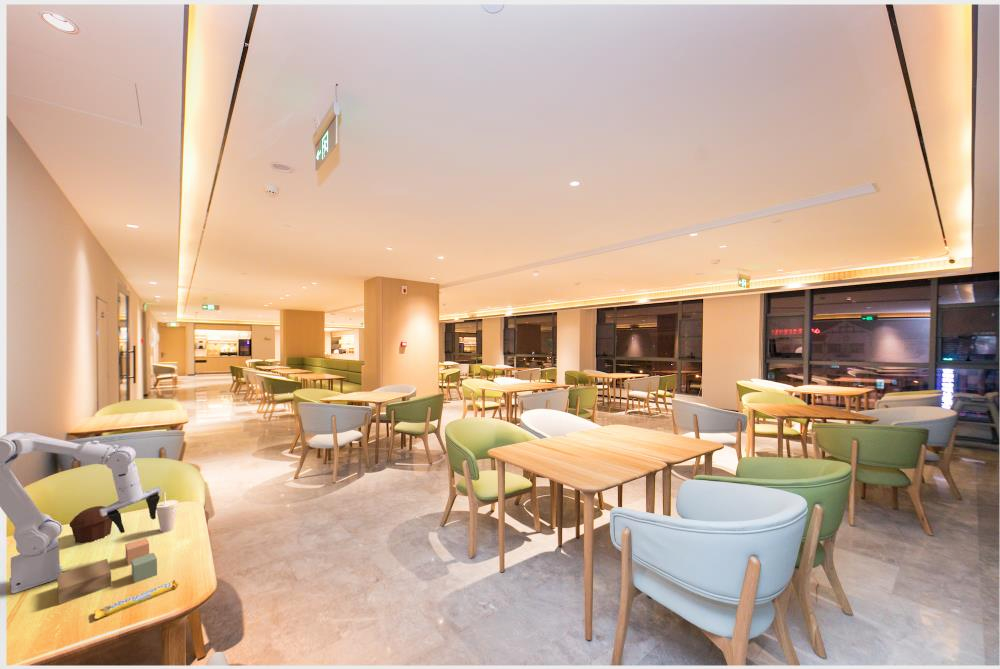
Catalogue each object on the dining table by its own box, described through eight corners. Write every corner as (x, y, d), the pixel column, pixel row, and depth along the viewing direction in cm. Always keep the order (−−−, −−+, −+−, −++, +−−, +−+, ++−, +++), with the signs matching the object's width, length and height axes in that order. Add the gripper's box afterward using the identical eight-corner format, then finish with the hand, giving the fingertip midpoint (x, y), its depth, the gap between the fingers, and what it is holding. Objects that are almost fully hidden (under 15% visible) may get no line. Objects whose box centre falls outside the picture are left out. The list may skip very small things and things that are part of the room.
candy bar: (176, 583, 115) (176, 577, 115) (179, 589, 112) (179, 583, 112) (93, 615, 102) (93, 608, 102) (94, 623, 99) (94, 616, 99)
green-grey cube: (134, 583, 114) (134, 566, 114) (131, 576, 117) (131, 559, 117) (157, 575, 118) (156, 558, 118) (154, 568, 121) (153, 552, 121)
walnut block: (59, 604, 105) (58, 590, 105) (57, 588, 112) (57, 574, 112) (111, 585, 113) (110, 572, 113) (107, 571, 120) (107, 558, 119)
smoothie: (155, 529, 144) (154, 491, 144) (177, 523, 149) (176, 486, 148) (156, 536, 140) (155, 497, 139) (179, 529, 144) (178, 491, 144)
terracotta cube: (128, 565, 123) (127, 550, 123) (125, 559, 126) (125, 544, 126) (149, 558, 126) (149, 543, 126) (146, 552, 130) (146, 537, 130)
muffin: (81, 532, 143) (80, 505, 142) (121, 525, 147) (120, 499, 147) (62, 549, 132) (61, 519, 132) (106, 541, 137) (105, 512, 136)
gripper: (100, 498, 117) (111, 541, 118) (161, 476, 129) (170, 515, 131) (93, 494, 121) (104, 536, 122) (153, 473, 133) (162, 511, 134)
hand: (138, 525), depth 127 cm, fingers open, 7 cm apart
